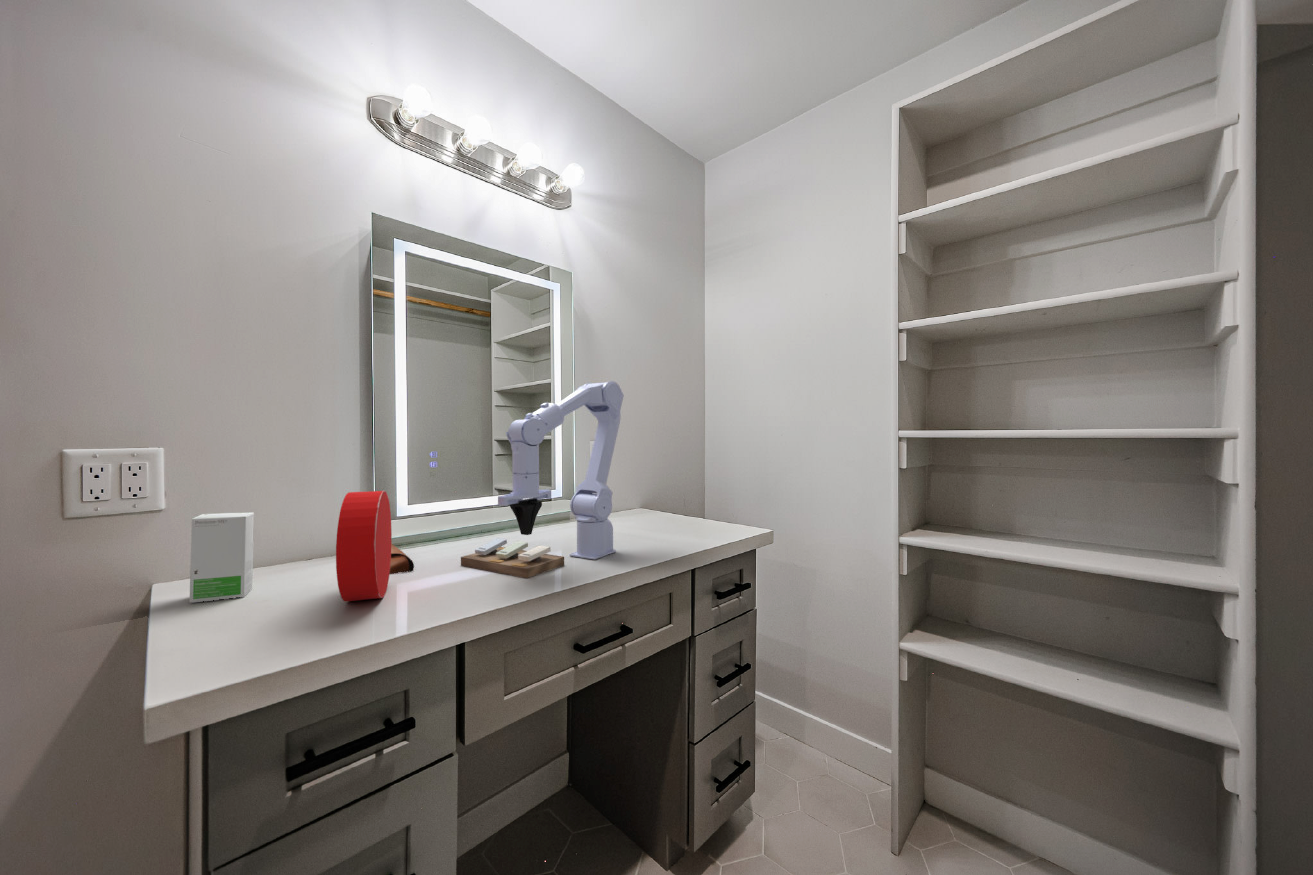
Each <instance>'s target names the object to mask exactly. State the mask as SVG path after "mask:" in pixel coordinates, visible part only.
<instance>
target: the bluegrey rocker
mask: <svg viewBox="0 0 1313 875" xmlns="http://www.w3.org/2000/svg"><path fill="white" fill-rule="evenodd" d="M506 544H508V541H507V539H505V538H500V537H497V538H494V539H492V540H491V541H488V542H487V543H485V544H483V545H481V546H479V547H477V548H475V549H474V552H475V554H481V555H486V554H488V553H490V552H492V551H494V550H495V549H497V548H499V547H504V546H505V545H506Z"/></svg>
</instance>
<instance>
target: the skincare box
mask: <svg viewBox="0 0 1313 875" xmlns="http://www.w3.org/2000/svg"><path fill="white" fill-rule="evenodd" d="M254 520H255V512H221V513H202V514H200V515H198V516H195V517H193V518H191V535H190V536H191V537H190V539H191V540H190V541H191V542H190V566H189V567H190V569H189V570H190V574H189V603H191V604H194V603H202V602H203V601H204V602H213V600H214V601H220V600H219V599H224V600H230V599H229V598H233V599H235V598H234V597H244V596H245V595H246V594H249V593H250V591H251V590H252V589H253V569H254V566H253V564H254V563H253V562H254V531H255V530H254V529H255V527H254V525H255V521H254ZM251 588H252V589H251ZM250 589H251V590H250ZM249 590H250V591H249ZM246 596H247V595H246ZM246 596H245V597H246ZM245 597H244V598H245Z"/></svg>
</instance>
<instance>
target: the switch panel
mask: <svg viewBox="0 0 1313 875" xmlns="http://www.w3.org/2000/svg"><path fill="white" fill-rule="evenodd" d="M506 547H507V546H506ZM506 547H505V546H501V547H499V548H497V549H495V550H494V551H492V552H490V553H488V554H486V555H481V554H475V553H471V554H468V555H463V556H460V566H462V567H467V568H472V569H478V570H482V571H488V572H492V573H498V574H502V575H507V576H513V577H518V578H523V579H530V578H532V577H535V576H538V575H540V574H543V573H547V572H549V571H552V570H555V569H557V568H558V569H559V568H560V567H563V566H565V556H563V555H562V556H561V555H556V554H548V553H546V554H544V555H542V556H539V557H537V558H535V559H533V560H531V561H524V560H518V555H520V554H522V553H524V552H526V551H527V550H525V549H523V550H521V551H519V552H518V553H516V554H514V555H512V556H511V557H509V558H507V559H504V558H499V557H496V553H497V552H499V551H500V550H502V549H504V548H506Z"/></svg>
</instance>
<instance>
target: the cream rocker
mask: <svg viewBox="0 0 1313 875" xmlns="http://www.w3.org/2000/svg"><path fill="white" fill-rule="evenodd" d="M551 550H552V549H551V546H546V545H538V546H536V547H533V548H531V549H529V550H525V551H526V552H524V553H522V554H520V555H518V560H524V561H531V560H533V559H535V558H537V557H539V556H542V555H544V554H548V553H550V552H551Z"/></svg>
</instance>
